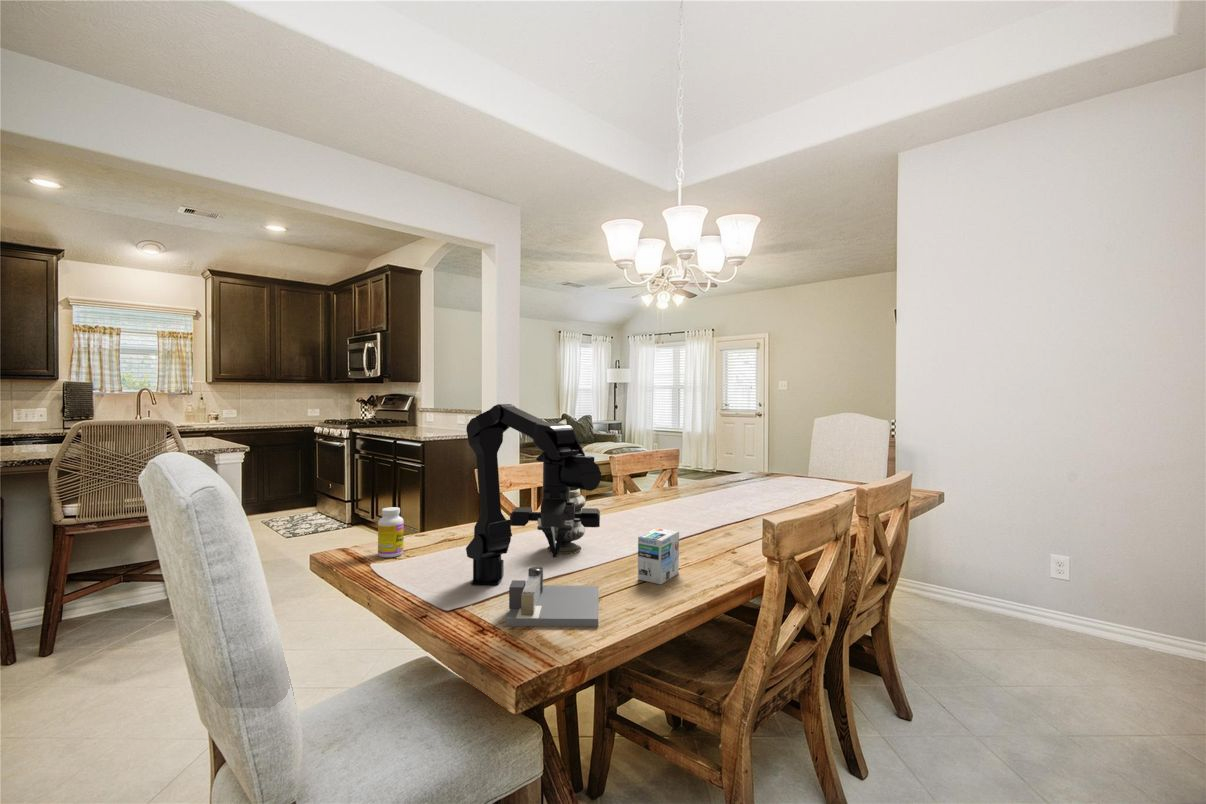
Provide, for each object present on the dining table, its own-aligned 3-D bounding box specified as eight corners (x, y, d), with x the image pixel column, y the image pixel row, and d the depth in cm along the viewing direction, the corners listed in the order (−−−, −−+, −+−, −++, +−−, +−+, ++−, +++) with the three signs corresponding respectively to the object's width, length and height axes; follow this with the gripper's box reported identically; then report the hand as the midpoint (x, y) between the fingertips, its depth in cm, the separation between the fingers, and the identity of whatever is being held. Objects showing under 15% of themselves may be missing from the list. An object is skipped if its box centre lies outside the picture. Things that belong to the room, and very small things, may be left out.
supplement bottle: (398, 558, 148) (398, 511, 147) (373, 558, 148) (373, 511, 148) (407, 551, 154) (407, 506, 154) (384, 550, 155) (384, 506, 154)
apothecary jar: (584, 556, 152) (585, 491, 151) (541, 555, 151) (542, 491, 151) (585, 543, 164) (585, 484, 163) (545, 543, 163) (545, 484, 163)
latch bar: (529, 587, 122) (529, 566, 122) (543, 587, 122) (543, 566, 122) (519, 614, 107) (519, 590, 107) (535, 614, 107) (535, 590, 107)
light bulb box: (661, 585, 129) (661, 540, 129) (636, 580, 133) (636, 536, 133) (679, 572, 138) (680, 530, 138) (655, 568, 142) (656, 527, 142)
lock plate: (505, 625, 106) (505, 595, 106) (518, 591, 124) (519, 565, 124) (598, 626, 107) (598, 596, 106) (598, 592, 125) (598, 566, 124)
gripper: (505, 490, 107) (504, 569, 107) (600, 492, 107) (598, 570, 107) (514, 480, 118) (513, 551, 118) (600, 482, 118) (599, 553, 118)
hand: (555, 557), depth 115 cm, fingers closed
